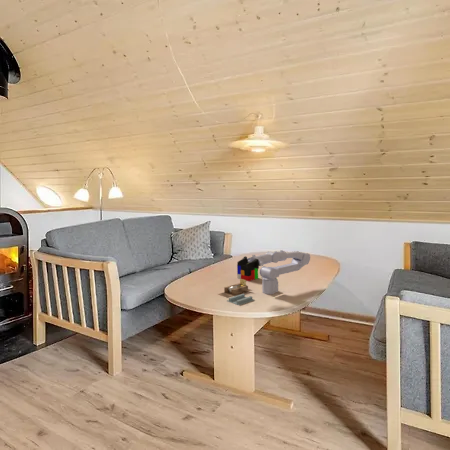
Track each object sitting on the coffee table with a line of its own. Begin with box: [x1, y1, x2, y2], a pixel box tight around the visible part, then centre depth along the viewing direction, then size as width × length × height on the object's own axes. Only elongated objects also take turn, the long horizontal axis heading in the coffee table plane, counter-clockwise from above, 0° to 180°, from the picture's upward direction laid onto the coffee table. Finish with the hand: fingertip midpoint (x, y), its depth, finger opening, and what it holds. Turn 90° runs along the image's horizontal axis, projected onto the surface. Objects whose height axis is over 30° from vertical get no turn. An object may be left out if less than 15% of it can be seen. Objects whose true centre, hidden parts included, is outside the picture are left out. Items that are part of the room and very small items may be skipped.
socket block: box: [217, 282, 253, 299], centre depth 219 cm, size 20×9×4 cm, turn 132°
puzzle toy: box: [236, 264, 259, 282], centre depth 252 cm, size 10×10×10 cm
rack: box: [226, 293, 255, 306], centre depth 205 cm, size 12×10×3 cm
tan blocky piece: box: [239, 279, 247, 287], centre depth 223 cm, size 3×4×6 cm
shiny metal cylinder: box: [228, 285, 241, 294], centre depth 219 cm, size 8×4×4 cm, turn 132°
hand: (242, 265), depth 205 cm, fingers open, 7 cm apart
